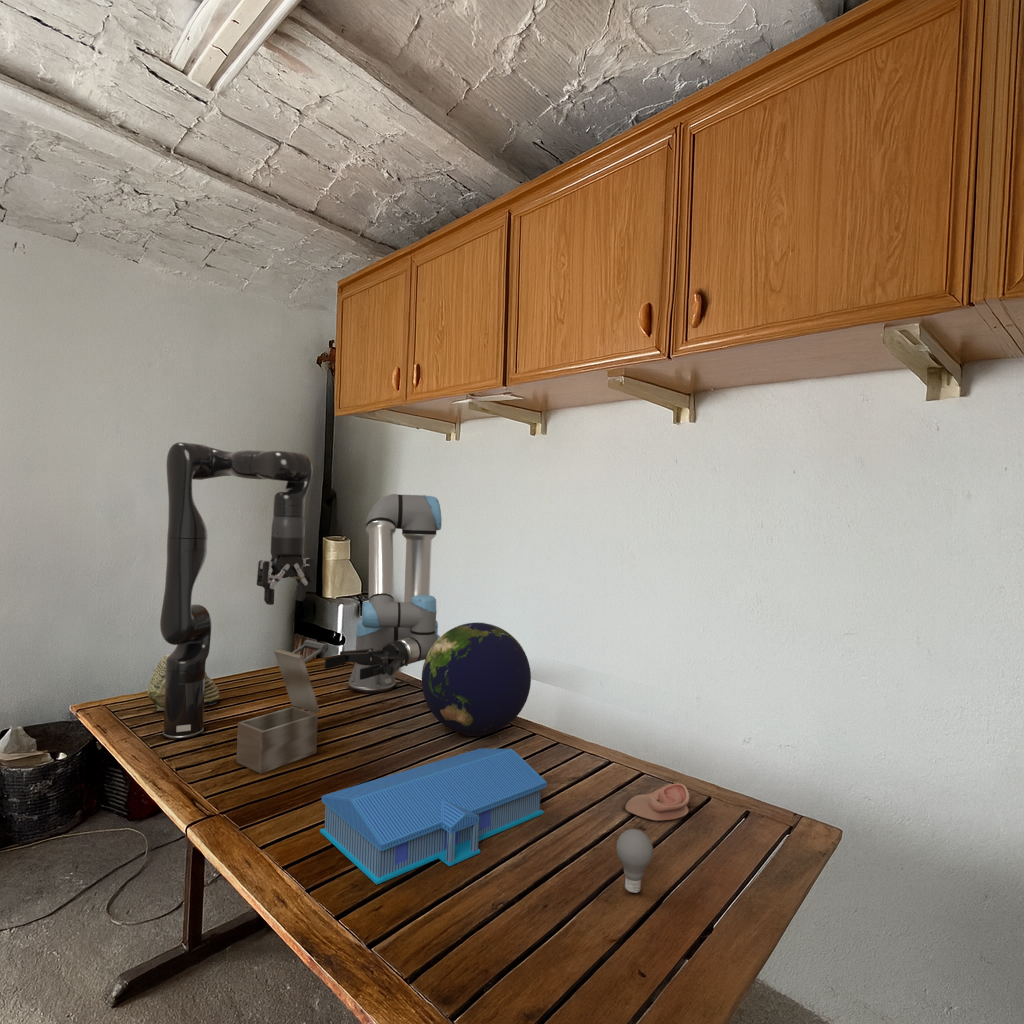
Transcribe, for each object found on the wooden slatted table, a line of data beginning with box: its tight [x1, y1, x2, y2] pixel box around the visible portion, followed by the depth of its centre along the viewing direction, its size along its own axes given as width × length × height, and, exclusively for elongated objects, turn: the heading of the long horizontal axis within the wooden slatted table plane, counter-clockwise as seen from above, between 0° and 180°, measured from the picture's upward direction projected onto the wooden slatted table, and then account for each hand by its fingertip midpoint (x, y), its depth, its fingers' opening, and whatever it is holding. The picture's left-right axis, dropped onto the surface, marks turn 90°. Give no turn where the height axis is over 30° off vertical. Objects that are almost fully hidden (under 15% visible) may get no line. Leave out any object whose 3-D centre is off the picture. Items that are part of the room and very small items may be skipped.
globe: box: [421, 621, 532, 737], centre depth 174 cm, size 30×30×30 cm
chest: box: [236, 705, 319, 775], centre depth 152 cm, size 15×10×10 cm, turn 146°
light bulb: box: [615, 828, 654, 894], centre depth 106 cm, size 6×6×10 cm
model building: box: [319, 747, 548, 885], centre depth 124 cm, size 39×24×10 cm, turn 132°
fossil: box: [147, 654, 221, 712], centre depth 185 cm, size 9×18×15 cm, turn 132°
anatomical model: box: [624, 783, 691, 822], centre depth 135 cm, size 13×4×12 cm
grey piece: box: [273, 639, 329, 715], centre depth 159 cm, size 16×10×9 cm
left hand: (285, 602), depth 152 cm, fingers open, 8 cm apart
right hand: (342, 669), depth 167 cm, fingers open, 13 cm apart
